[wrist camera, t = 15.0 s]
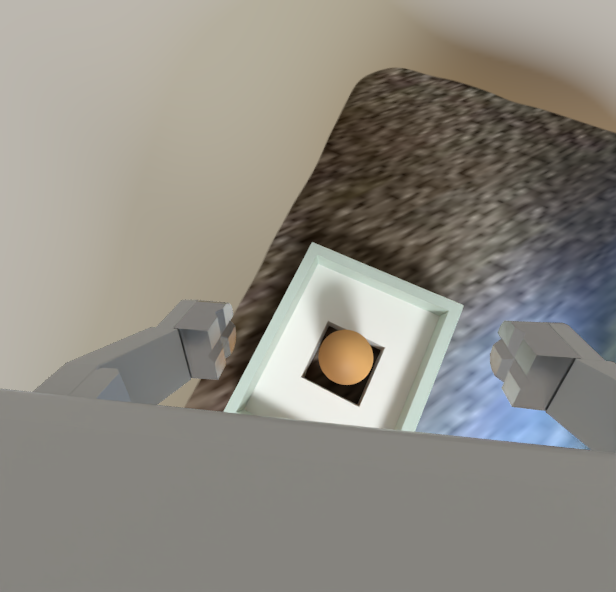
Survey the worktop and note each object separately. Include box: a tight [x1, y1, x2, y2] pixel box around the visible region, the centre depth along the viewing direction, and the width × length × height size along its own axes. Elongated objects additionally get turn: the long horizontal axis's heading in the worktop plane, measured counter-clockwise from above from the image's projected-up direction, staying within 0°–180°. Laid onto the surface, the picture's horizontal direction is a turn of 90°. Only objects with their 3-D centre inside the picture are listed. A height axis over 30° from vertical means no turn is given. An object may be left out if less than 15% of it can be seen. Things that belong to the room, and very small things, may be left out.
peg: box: [319, 330, 373, 385], centre depth 28 cm, size 4×4×10 cm
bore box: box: [224, 242, 464, 432], centre depth 30 cm, size 18×15×6 cm
